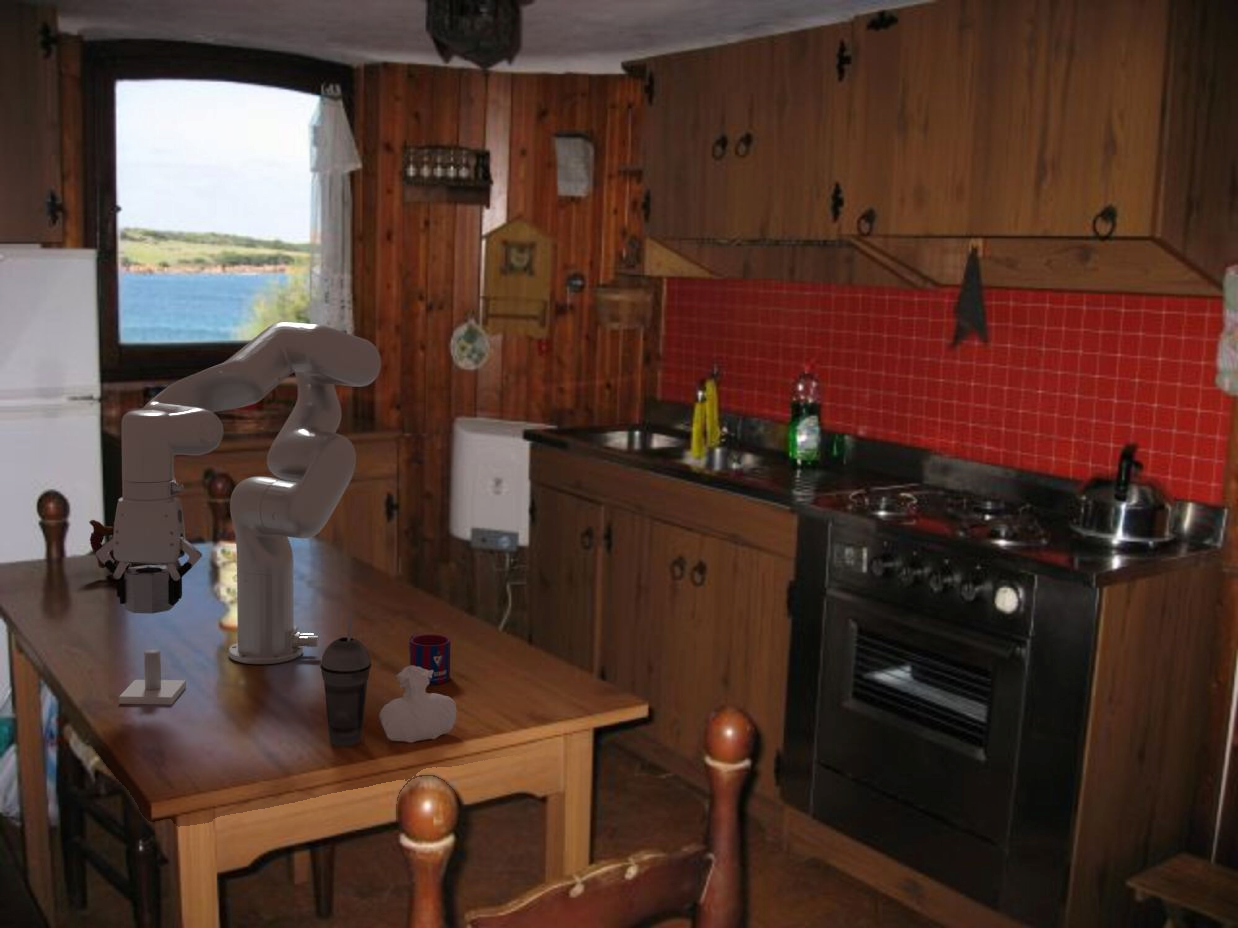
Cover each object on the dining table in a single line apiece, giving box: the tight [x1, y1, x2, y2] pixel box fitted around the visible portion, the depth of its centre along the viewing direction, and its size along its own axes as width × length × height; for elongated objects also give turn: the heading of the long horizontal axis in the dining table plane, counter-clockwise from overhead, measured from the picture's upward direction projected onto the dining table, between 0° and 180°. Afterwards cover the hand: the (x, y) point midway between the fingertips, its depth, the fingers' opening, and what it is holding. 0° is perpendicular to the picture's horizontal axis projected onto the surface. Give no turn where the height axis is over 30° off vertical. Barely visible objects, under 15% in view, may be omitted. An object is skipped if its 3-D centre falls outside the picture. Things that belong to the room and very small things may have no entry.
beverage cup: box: [319, 609, 372, 748], centre depth 187 cm, size 7×7×20 cm
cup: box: [408, 633, 452, 686], centre depth 218 cm, size 7×10×7 cm
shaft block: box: [118, 649, 187, 706], centre depth 204 cm, size 8×8×7 cm
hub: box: [124, 565, 175, 615], centre depth 202 cm, size 7×7×6 cm
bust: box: [378, 664, 457, 744], centre depth 192 cm, size 12×8×11 cm
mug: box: [88, 519, 166, 581], centre depth 275 cm, size 12×14×15 cm
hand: (149, 601), depth 202 cm, fingers closed on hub, 6 cm apart
